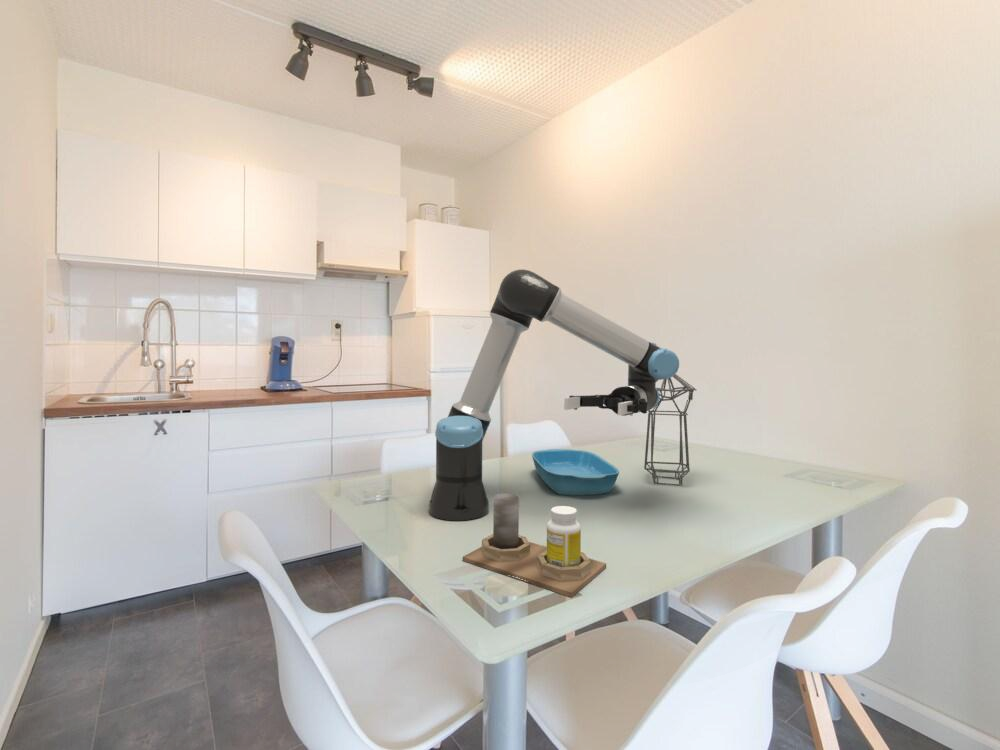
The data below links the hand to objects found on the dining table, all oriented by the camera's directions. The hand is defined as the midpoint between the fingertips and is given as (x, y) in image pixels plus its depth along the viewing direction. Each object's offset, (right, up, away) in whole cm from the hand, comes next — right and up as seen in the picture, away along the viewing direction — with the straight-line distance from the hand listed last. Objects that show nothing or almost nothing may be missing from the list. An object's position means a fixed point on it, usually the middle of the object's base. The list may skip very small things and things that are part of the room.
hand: (591, 406), depth 113 cm
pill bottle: (-10, -29, -23) cm, 38 cm away
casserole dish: (+1, -27, +40) cm, 48 cm away
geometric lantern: (+31, -26, +42) cm, 59 cm away
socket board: (-15, -29, -19) cm, 38 cm away
